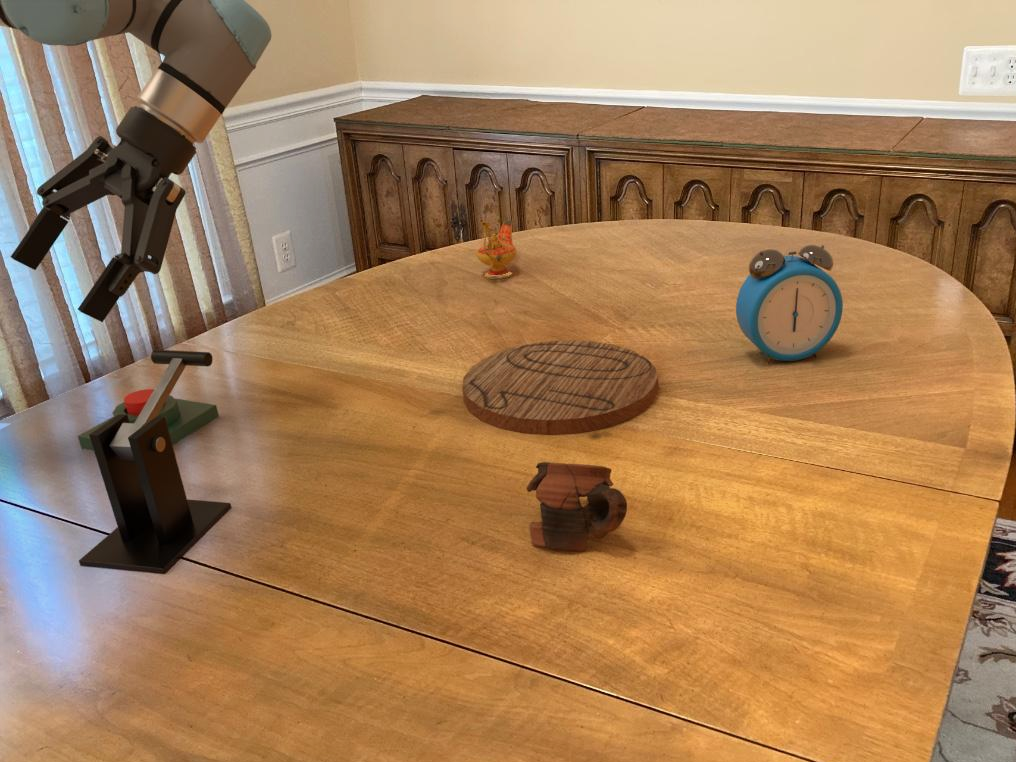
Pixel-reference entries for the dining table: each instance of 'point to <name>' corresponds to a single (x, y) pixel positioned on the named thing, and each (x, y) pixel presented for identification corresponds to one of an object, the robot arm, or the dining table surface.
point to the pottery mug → (574, 505)
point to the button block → (168, 419)
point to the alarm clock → (789, 303)
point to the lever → (158, 394)
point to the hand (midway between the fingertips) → (55, 289)
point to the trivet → (560, 387)
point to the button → (137, 401)
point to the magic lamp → (497, 249)
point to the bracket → (147, 502)
